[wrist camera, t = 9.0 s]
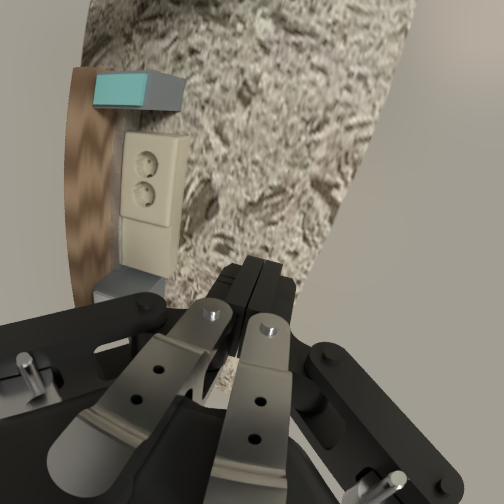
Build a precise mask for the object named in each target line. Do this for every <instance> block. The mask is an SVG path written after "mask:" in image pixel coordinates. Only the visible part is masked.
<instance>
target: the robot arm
mask: <svg viewBox="0 0 504 504" xmlns="http://www.w3.org/2000/svg"><path fill="white" fill-rule="evenodd" d="M264 262H265V264H264ZM282 266H283V264H281V263H277V262H273V261H269V260H266V261H265V259H261V258H257V257H253V256H250V255H247V257H246V259H245V261H244V263H243V265H238V264H234V263H232V264H230V265H228V266H226V267H224V268H223V270H222V272H221V273H220V276H218V278H217V280H216V281H215V283H214V284H213V286H212V288H211V289H210V291H209V293H208V294H207V296H206V297H205V298H202V299H198V300H196V301H195V302H194V303H193V304H192V305H191V306H190V307H189V308H188V309H174V308H167V304H166V301H165V299H164V298H163V297H161V296H160V295H158V294H155V293H152V292H139V293H135V294H131V295H127V296H123V297H119V298H115V299H110V300H106V301H102V302H98V303H94V304H90V305H86V306H82V307H78V308H74V309H69V310H66V311H61V312H57V313H53V314H48V315H45V316H40V317H36V318H32V319H27V320H23V321H19V322H15V323H10V324H6V325H1V326H0V504H340V503H339V502H338V500H337V499H336V497H335V496H334V494H333V493H332V492H331V490H330V489H329V487H328V486H327V484H326V483H325V481H324V480H323V478H322V476H321V475H320V473H319V472H318V470H317V469H316V467H315V466H314V464H313V463H312V461H311V460H310V458H309V457H308V455H307V454H306V452H305V451H304V450H303V449H302V448H301V446H300V445H299V444H298V443H296V442H295V441H294V440H293V439H292V438H290V437H289V436H288V435H289V421H290V416H291V417H292V419H293V420H294V422H295V423H296V424H297V426H298V427H299V429H300V430H301V432H302V433H303V435H304V436H305V437H306V439H307V440H308V442H309V443H310V445H311V446H312V447H313V449H314V450H315V452H316V453H317V454H318V456H319V457H320V459H321V460H322V461H323V463H324V464H325V465H326V467H327V468H328V470H329V471H330V472H331V474H332V475H333V476H334V478H335V479H336V480H337V482H338V483H339V485H340V486H341V487H342V489H343V490H344V491H345V494H344V495H343V498H342V504H458V503H459V502H460V501H461V499H462V497H463V494H464V483H463V480H462V478H461V476H460V475H459V473H458V472H457V471H456V470H455V469H454V468H453V467H452V466H451V464H450V463H449V462H448V461H447V460H446V459H445V458H444V457H443V456H442V455H441V453H440V452H439V451H438V450H436V448H435V447H434V446H433V445H432V444H431V443H430V441H429V440H428V439H427V438H426V437H425V436H424V435H423V434H422V433H421V432H420V431H419V429H418V428H417V427H416V426H415V425H414V424H413V423H412V422H411V421H410V420H409V418H407V416H406V415H405V414H404V413H403V412H402V411H401V410H400V409H399V408H398V407H397V405H396V404H395V403H394V402H393V401H392V400H391V399H390V398H389V397H388V396H387V395H386V393H385V392H384V391H383V390H382V389H381V388H380V387H379V386H378V385H377V384H376V382H375V381H374V380H373V379H372V378H371V377H370V376H369V375H368V374H367V373H366V372H365V370H364V369H363V368H362V367H361V366H360V365H359V364H358V363H357V362H356V361H355V360H354V359H353V358H352V356H351V355H350V354H349V353H348V352H347V351H346V350H345V349H344V348H342V347H341V346H339V345H337V344H334V343H330V342H319V343H317V344H315V345H313V346H312V347H310V346H308V345H306V344H304V343H302V342H301V341H299V340H298V339H297V338H296V337H295V336H294V335H293V334H292V332H291V330H290V320H291V315H292V309H293V304H294V298H295V292H296V285H295V283H294V281H293V279H292V278H288V277H284V276H280V274H281V270H282ZM128 337H129V344H126V345H122V346H119V347H116V348H112V349H109V350H105V351H102V352H99V353H94V351H95V349H96V348H97V347H98V346H101V345H104V344H107V343H111V342H114V341H118V340H121V339H124V338H128ZM238 348H239V349H238ZM237 350H238V354H237V358H240V359H239V362H238V366H237V370H236V375H235V379H234V383H233V387H232V391H231V395H230V399H229V403H228V407H227V410H226V409H215V408H206V407H204V405H205V403H206V401H207V399H208V397H209V395H210V393H211V392H212V390H213V388H214V386H215V384H216V382H217V380H218V378H219V376H220V374H221V373H222V370H223V365H224V364H225V362H226V360H227V357H228V355H229V356H233V357H235V356H236V353H237Z"/></svg>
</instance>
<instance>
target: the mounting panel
mask: <svg viewBox="0 0 504 504" xmlns="http://www.w3.org/2000/svg"><path fill="white" fill-rule="evenodd" d="M111 71H115V70H109V69H102V68H95V67H88V66H85V67H77V68H73V74H72V80H71V87H70V95H69V103H68V112H67V123H66V138H65V161H64V197H65V198H64V199H65V222H66V238H67V249H68V259H69V268H70V276H71V283H72V290H73V297H74V303H75V308H78V307H82V306H86V305H90V304H94V296H93V286H94V285H95V284H96V283H98V282H99V281H100V280H101V279H102V278H104V277H105V276H106V275H107V274H109V273H110V272H111V262H110V178H111V160H112V146H113V134H114V124H115V115H116V108H93V101H94V93H95V86H96V79H97V74H98V72H111Z"/></svg>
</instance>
